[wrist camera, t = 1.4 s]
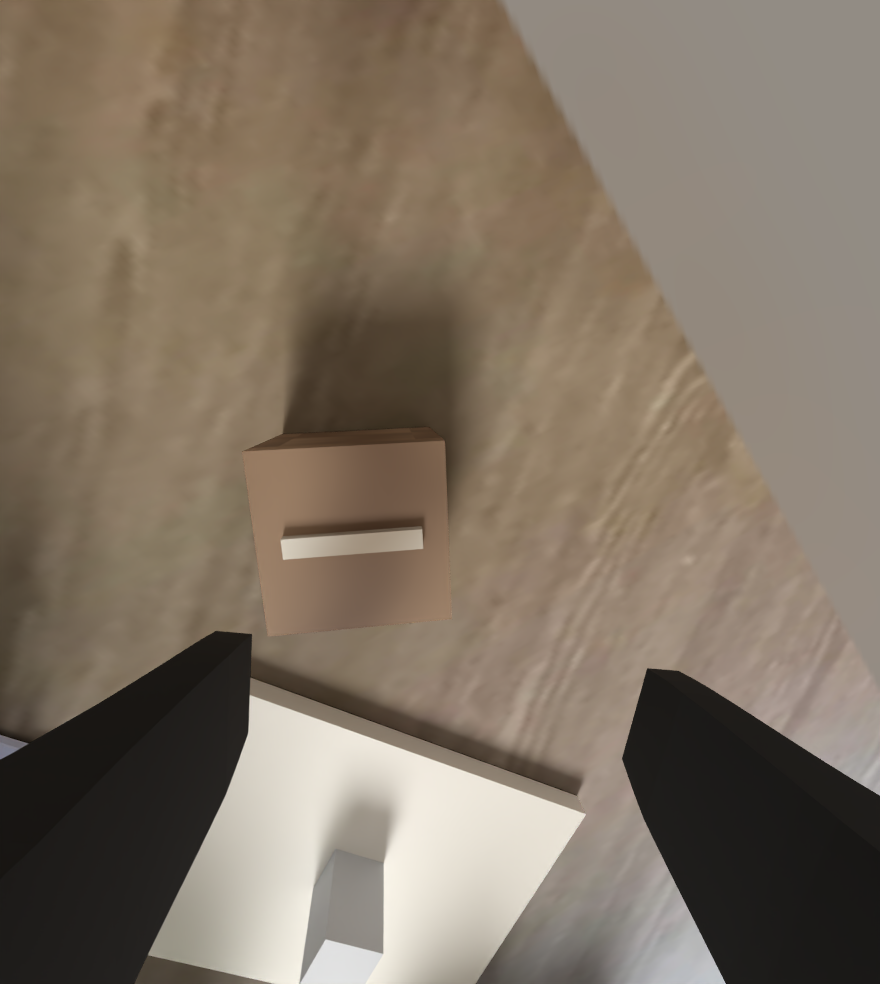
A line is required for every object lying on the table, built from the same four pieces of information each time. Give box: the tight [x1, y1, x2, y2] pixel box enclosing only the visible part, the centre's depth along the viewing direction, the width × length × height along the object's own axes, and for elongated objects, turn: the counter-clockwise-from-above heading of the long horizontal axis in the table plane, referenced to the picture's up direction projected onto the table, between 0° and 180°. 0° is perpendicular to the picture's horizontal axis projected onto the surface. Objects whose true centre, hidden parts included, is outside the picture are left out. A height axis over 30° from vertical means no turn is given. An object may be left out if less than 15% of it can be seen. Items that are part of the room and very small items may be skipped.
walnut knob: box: [242, 427, 452, 636], centre depth 16 cm, size 6×6×5 cm
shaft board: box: [148, 678, 586, 984], centre depth 20 cm, size 18×14×4 cm
